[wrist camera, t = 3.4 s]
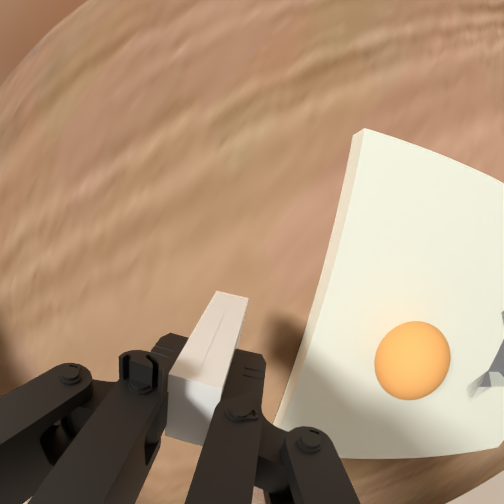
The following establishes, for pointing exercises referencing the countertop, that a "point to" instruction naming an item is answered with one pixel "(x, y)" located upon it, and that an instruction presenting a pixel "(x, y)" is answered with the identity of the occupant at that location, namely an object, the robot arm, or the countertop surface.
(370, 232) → the plate
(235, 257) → the countertop surface
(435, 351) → the ball
